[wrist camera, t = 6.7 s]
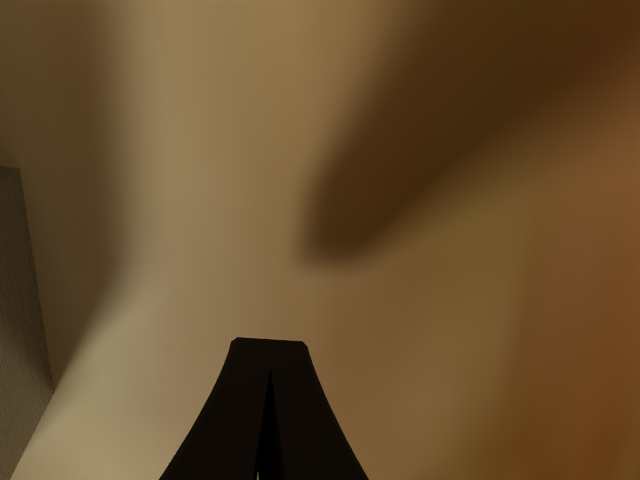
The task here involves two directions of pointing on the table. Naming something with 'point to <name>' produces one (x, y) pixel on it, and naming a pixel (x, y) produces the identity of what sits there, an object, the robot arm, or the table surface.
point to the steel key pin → (19, 330)
